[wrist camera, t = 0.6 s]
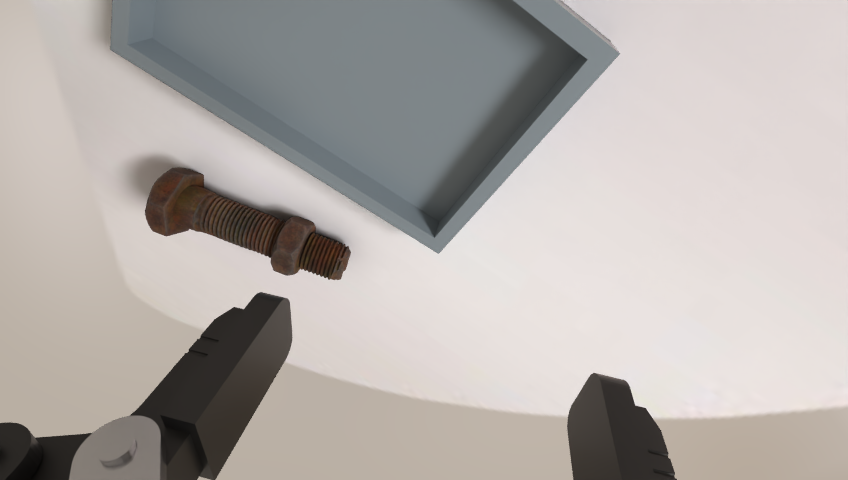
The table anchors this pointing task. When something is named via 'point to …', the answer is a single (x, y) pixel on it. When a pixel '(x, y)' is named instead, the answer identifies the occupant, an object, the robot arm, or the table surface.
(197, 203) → the bolt
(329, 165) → the tray
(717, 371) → the table surface
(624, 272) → the table surface
